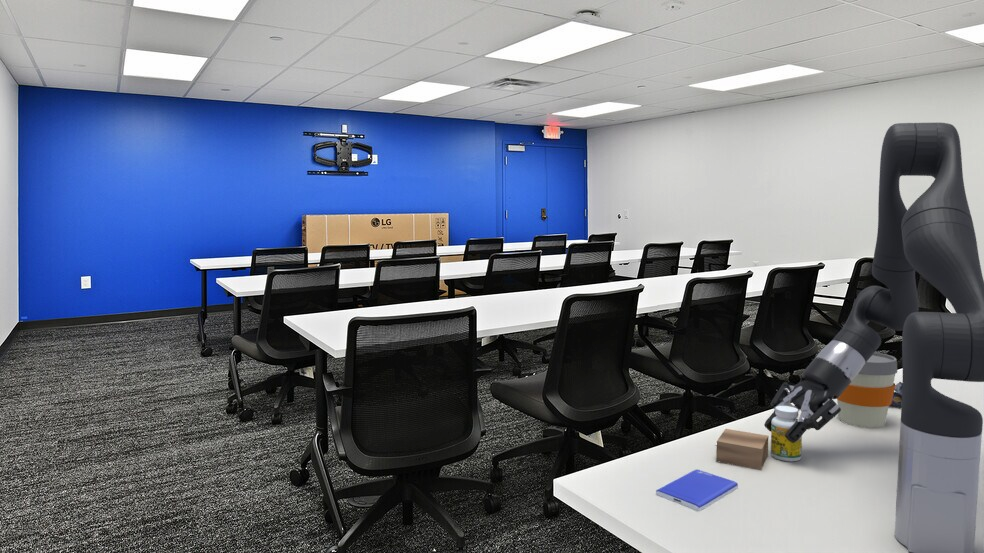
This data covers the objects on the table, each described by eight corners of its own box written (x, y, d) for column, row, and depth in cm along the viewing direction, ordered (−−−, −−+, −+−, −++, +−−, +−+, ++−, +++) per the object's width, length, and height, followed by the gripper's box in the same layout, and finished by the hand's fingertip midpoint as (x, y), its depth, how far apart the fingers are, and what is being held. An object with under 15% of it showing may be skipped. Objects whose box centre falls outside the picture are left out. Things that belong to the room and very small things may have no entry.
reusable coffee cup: (908, 426, 136) (911, 359, 134) (867, 434, 131) (871, 365, 130) (855, 409, 147) (858, 348, 146) (817, 416, 143) (819, 353, 141)
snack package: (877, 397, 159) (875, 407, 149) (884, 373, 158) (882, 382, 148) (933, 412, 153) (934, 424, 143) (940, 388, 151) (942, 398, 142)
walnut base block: (761, 470, 114) (761, 449, 113) (716, 461, 118) (716, 441, 117) (767, 455, 120) (768, 435, 120) (725, 447, 125) (725, 428, 124)
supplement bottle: (807, 460, 118) (809, 411, 117) (784, 463, 116) (786, 414, 115) (786, 450, 123) (787, 403, 122) (764, 453, 121) (765, 406, 120)
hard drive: (695, 468, 112) (655, 488, 104) (738, 482, 106) (699, 505, 98) (695, 476, 113) (655, 497, 105) (737, 490, 106) (699, 514, 98)
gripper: (796, 349, 126) (743, 410, 125) (851, 365, 112) (792, 435, 111) (817, 372, 128) (765, 433, 127) (874, 391, 114) (816, 460, 113)
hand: (778, 434), depth 119 cm, fingers closed on supplement bottle, 5 cm apart
